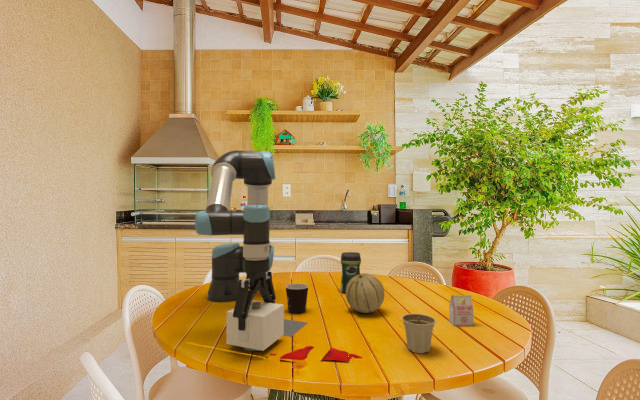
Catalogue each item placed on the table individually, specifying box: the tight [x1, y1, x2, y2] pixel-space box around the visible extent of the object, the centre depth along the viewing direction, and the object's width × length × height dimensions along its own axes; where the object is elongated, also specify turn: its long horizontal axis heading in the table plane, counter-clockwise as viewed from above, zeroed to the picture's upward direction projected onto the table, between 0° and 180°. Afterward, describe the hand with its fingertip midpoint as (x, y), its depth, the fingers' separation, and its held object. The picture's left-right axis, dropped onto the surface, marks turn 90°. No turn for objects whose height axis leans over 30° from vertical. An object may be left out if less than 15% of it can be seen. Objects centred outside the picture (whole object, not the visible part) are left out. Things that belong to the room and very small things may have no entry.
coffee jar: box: [340, 251, 362, 294], centre depth 157 cm, size 10×8×19 cm
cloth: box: [266, 345, 363, 364], centre depth 92 cm, size 26×14×2 cm, turn 78°
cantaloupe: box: [345, 273, 385, 314], centre depth 128 cm, size 15×15×15 cm
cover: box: [225, 300, 285, 352], centre depth 97 cm, size 12×12×10 cm
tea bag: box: [448, 294, 474, 327], centre depth 116 cm, size 4×7×10 cm, turn 91°
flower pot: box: [401, 313, 437, 354], centre depth 96 cm, size 9×9×9 cm
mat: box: [282, 318, 308, 338], centre depth 112 cm, size 14×13×1 cm
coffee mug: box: [285, 283, 309, 315], centre depth 129 cm, size 12×9×10 cm
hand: (256, 333), depth 97 cm, fingers closed on cover, 12 cm apart
